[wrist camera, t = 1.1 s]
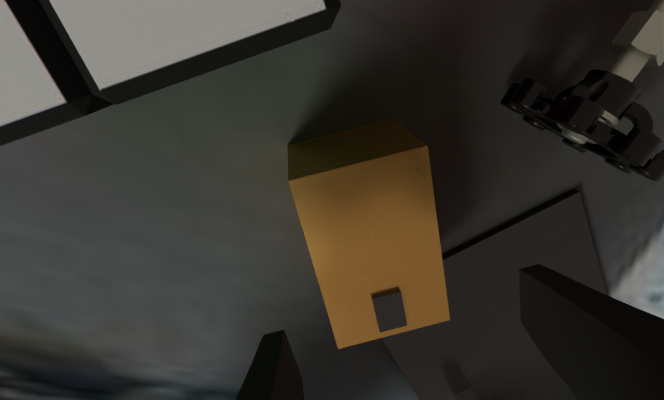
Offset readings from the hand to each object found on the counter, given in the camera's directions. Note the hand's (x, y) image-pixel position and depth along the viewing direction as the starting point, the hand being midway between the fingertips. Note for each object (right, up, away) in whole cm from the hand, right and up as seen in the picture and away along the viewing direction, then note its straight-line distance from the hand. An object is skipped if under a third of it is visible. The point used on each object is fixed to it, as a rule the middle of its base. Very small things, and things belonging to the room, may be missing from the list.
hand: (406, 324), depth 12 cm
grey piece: (+10, -7, +13) cm, 18 cm away
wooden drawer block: (-1, +3, +8) cm, 9 cm away
